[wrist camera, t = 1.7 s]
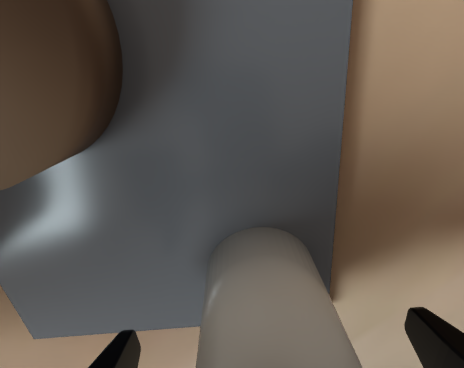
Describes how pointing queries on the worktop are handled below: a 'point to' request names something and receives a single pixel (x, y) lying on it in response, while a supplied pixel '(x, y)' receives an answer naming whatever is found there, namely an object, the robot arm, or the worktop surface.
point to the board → (184, 165)
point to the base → (54, 81)
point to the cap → (269, 307)
